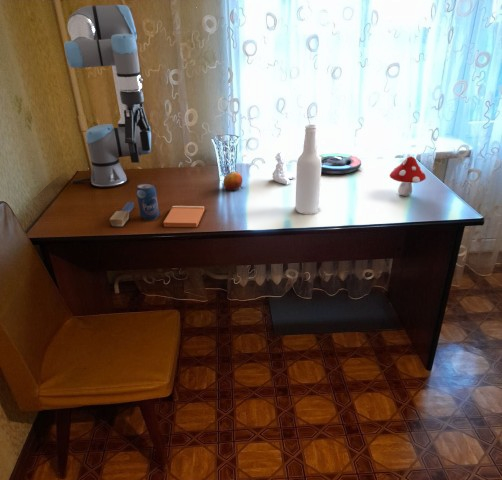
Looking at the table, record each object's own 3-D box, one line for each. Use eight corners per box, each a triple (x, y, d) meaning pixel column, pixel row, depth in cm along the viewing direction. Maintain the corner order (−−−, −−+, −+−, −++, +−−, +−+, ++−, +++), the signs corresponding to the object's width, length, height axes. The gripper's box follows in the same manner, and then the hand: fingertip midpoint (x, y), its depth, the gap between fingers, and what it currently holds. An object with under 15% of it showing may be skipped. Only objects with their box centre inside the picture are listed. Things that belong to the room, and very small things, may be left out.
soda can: (147, 222, 175) (142, 190, 168) (137, 217, 179) (131, 185, 172) (163, 217, 178) (158, 185, 171) (153, 212, 183) (148, 181, 176)
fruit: (244, 189, 197) (234, 172, 194) (229, 198, 200) (218, 181, 197) (248, 182, 203) (238, 166, 200) (233, 191, 207) (223, 175, 203)
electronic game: (300, 167, 224) (300, 156, 221) (335, 157, 235) (336, 147, 232) (335, 179, 209) (336, 168, 206) (371, 168, 220) (372, 158, 217)
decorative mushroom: (394, 186, 200) (400, 149, 191) (427, 192, 194) (435, 154, 185) (381, 196, 191) (386, 158, 182) (415, 203, 184) (422, 163, 176)
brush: (110, 226, 173) (109, 219, 171) (126, 207, 187) (124, 200, 185) (123, 226, 172) (121, 219, 170) (137, 208, 187) (136, 201, 185)
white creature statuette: (288, 185, 204) (289, 156, 197) (269, 183, 206) (269, 154, 199) (294, 178, 211) (295, 150, 204) (275, 176, 214) (275, 148, 207)
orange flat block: (163, 226, 172) (163, 221, 171) (173, 209, 184) (173, 204, 183) (196, 227, 171) (196, 222, 169) (204, 210, 183) (204, 205, 182)
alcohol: (294, 205, 185) (297, 122, 167) (317, 205, 185) (322, 122, 167) (295, 214, 178) (298, 129, 160) (319, 214, 178) (325, 128, 160)
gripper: (130, 97, 146) (141, 167, 159) (152, 82, 166) (160, 146, 179) (107, 97, 147) (119, 167, 160) (131, 82, 167) (140, 145, 180)
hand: (141, 156), depth 169 cm, fingers open, 13 cm apart
